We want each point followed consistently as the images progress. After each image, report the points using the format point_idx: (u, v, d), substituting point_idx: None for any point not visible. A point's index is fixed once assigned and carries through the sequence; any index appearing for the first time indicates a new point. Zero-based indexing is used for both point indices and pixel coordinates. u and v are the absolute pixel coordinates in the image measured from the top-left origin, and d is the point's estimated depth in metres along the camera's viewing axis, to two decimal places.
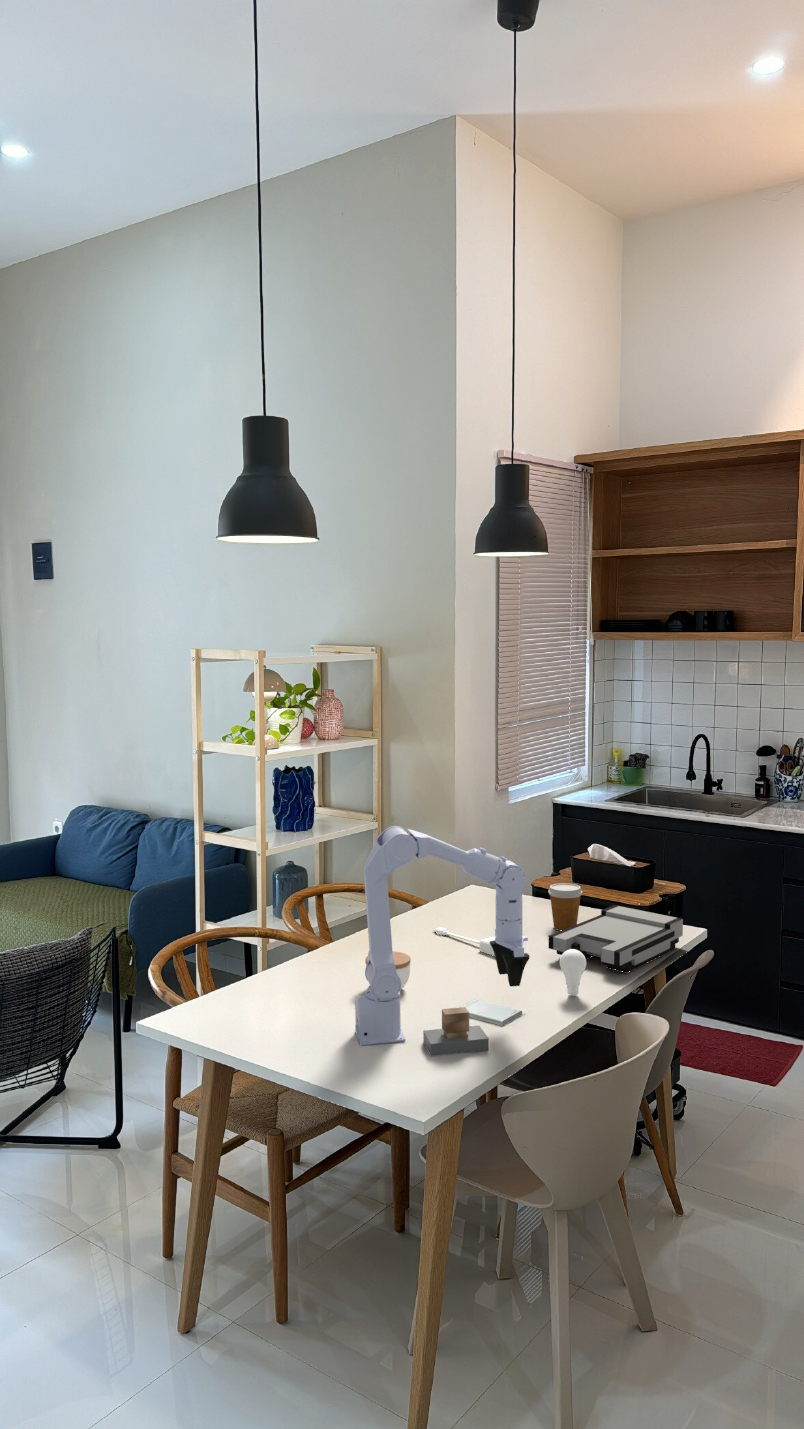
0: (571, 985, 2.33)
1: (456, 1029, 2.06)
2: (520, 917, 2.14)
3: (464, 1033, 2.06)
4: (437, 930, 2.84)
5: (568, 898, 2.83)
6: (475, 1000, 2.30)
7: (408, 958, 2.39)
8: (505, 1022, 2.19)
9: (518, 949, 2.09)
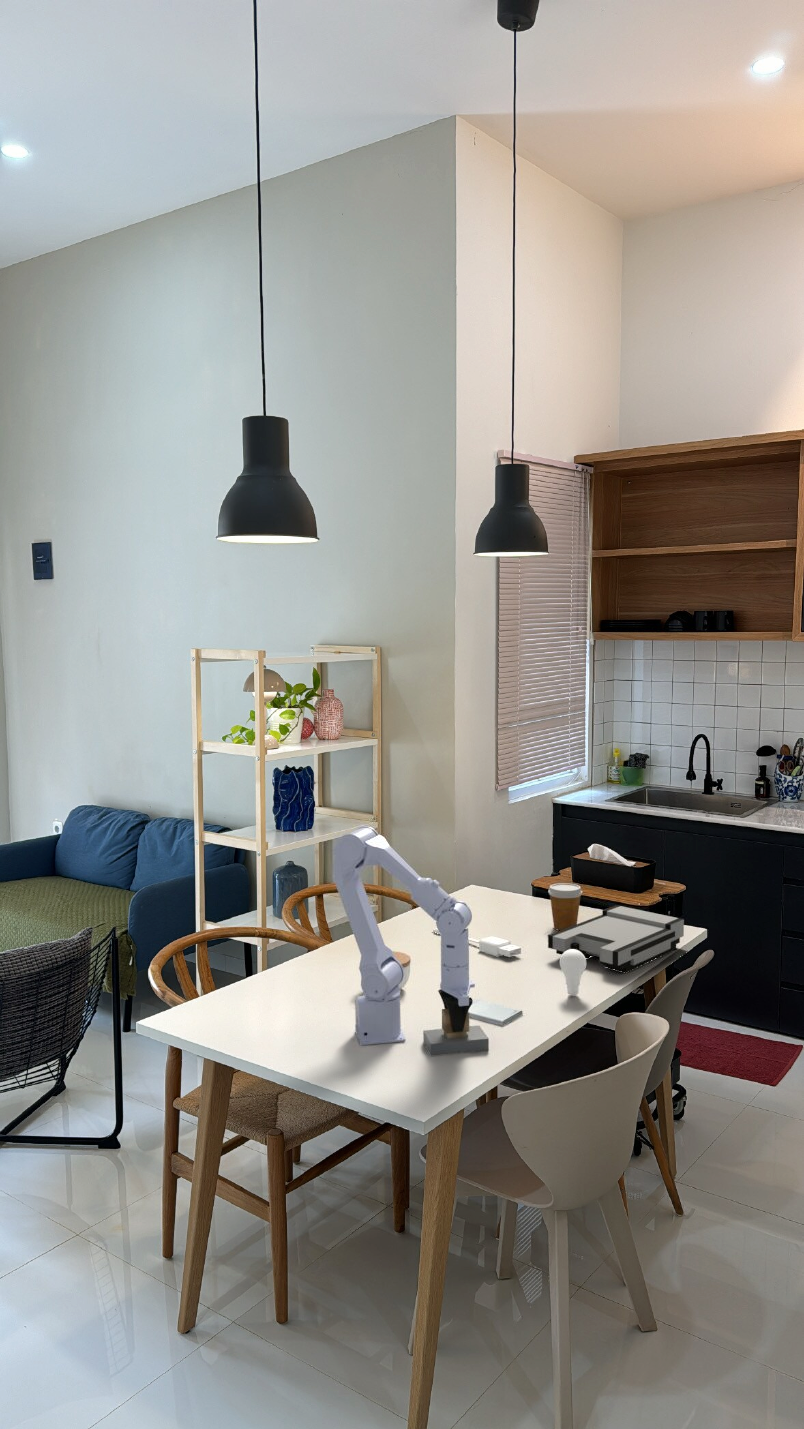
0: (571, 985, 2.33)
1: None
2: (460, 964, 2.03)
3: (464, 1033, 2.06)
4: (436, 930, 2.84)
5: (568, 898, 2.83)
6: (475, 1000, 2.30)
7: (408, 958, 2.39)
8: (505, 1022, 2.19)
9: (463, 998, 1.99)
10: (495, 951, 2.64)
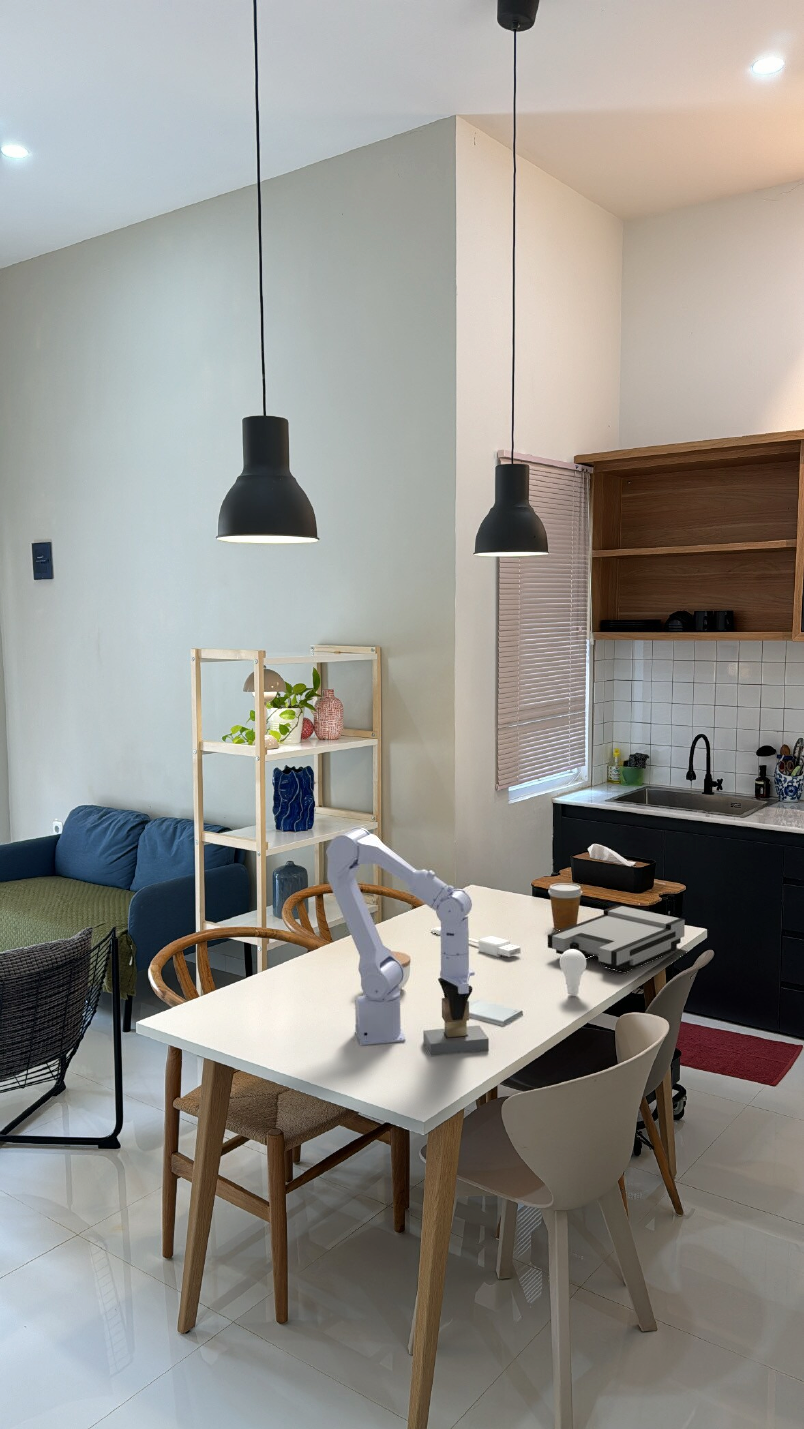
0: (571, 985, 2.33)
1: None
2: (460, 952, 2.03)
3: (464, 1022, 2.06)
4: (435, 930, 2.84)
5: (568, 898, 2.83)
6: (475, 1000, 2.30)
7: (408, 958, 2.39)
8: (506, 1022, 2.19)
9: (462, 985, 1.99)
10: (494, 951, 2.64)
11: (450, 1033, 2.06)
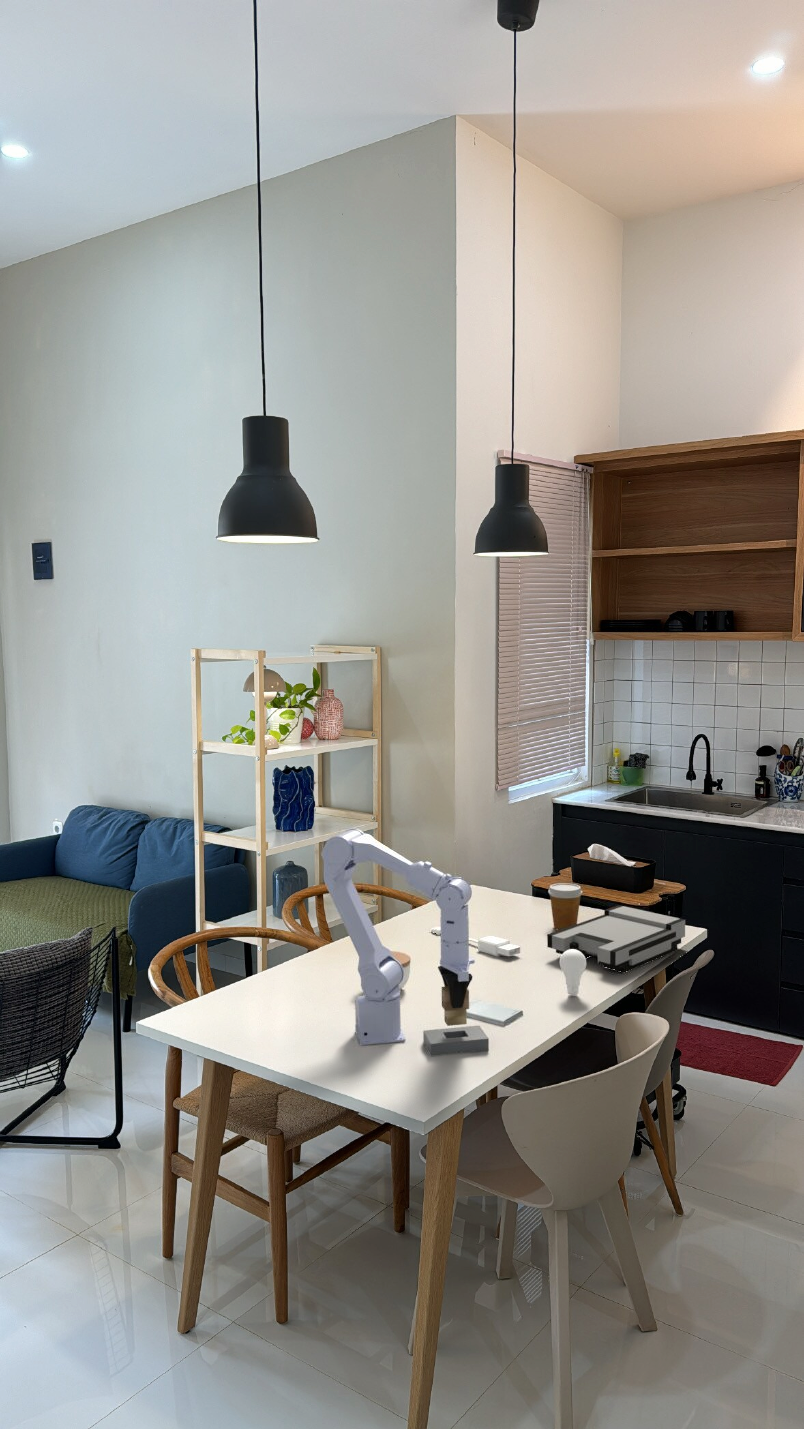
0: (571, 985, 2.33)
1: None
2: (460, 940, 2.03)
3: (464, 1011, 2.06)
4: (434, 930, 2.84)
5: (568, 898, 2.83)
6: (475, 1000, 2.30)
7: (408, 958, 2.39)
8: (506, 1022, 2.19)
9: (462, 973, 1.99)
10: (494, 951, 2.64)
11: (450, 1022, 2.05)
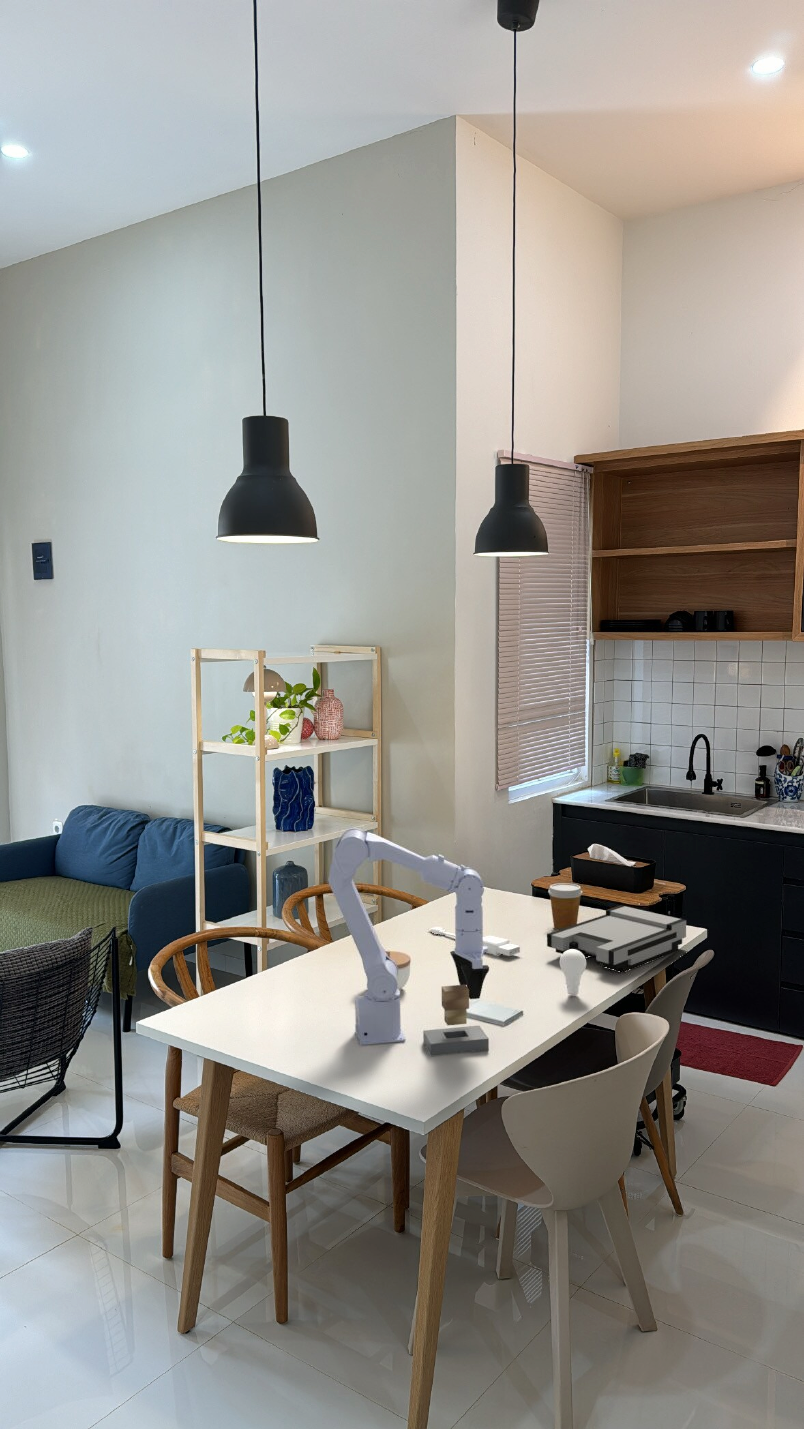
0: (571, 985, 2.33)
1: (456, 1006, 2.05)
2: (478, 928, 2.09)
3: (464, 1010, 2.06)
4: (433, 930, 2.84)
5: (568, 898, 2.83)
6: (475, 1000, 2.30)
7: (408, 958, 2.39)
8: (506, 1022, 2.19)
9: (476, 960, 2.04)
10: (494, 950, 2.64)
11: (450, 1021, 2.05)
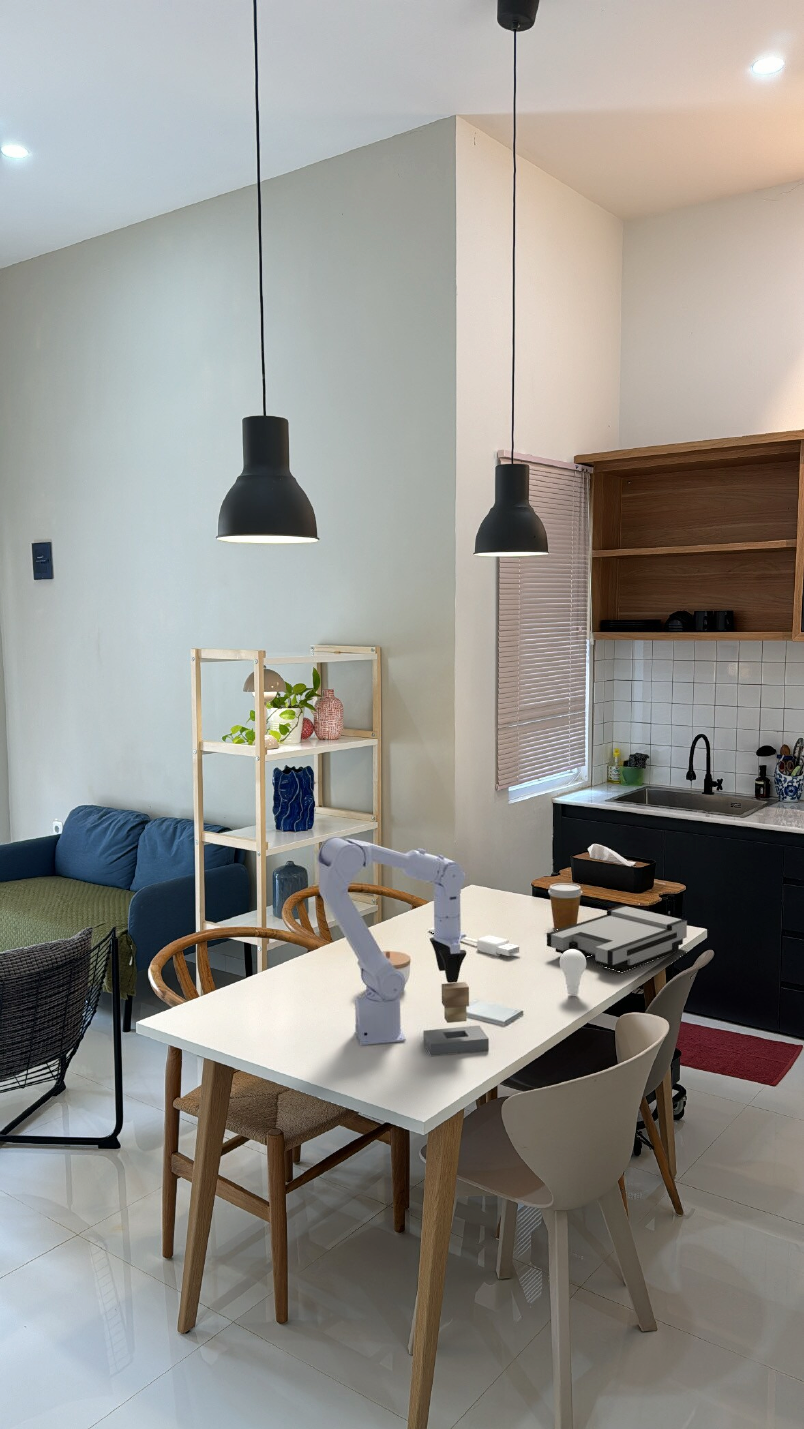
0: (571, 985, 2.33)
1: (456, 1004, 2.05)
2: (459, 913, 2.17)
3: (464, 1008, 2.06)
4: (433, 930, 2.84)
5: (568, 898, 2.83)
6: (475, 1000, 2.30)
7: (408, 958, 2.39)
8: (507, 1022, 2.19)
9: (454, 946, 2.11)
10: (493, 950, 2.65)
11: (450, 1019, 2.05)
